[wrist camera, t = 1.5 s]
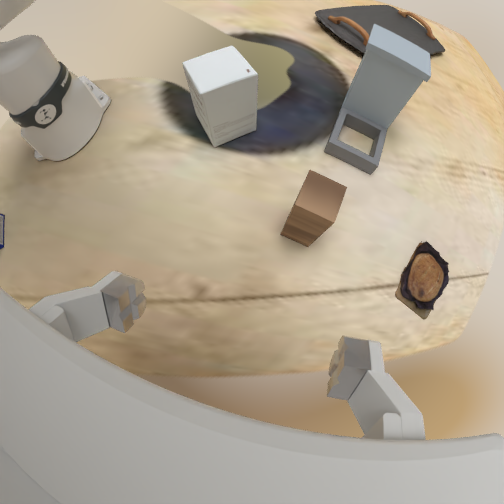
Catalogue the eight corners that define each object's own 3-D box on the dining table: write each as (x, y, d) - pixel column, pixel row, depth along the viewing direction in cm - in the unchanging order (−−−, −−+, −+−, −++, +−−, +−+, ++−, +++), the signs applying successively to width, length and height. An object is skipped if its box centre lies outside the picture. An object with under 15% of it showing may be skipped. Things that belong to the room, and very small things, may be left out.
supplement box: (237, 100, 40) (234, 43, 28) (257, 131, 39) (260, 74, 27) (195, 116, 40) (180, 61, 27) (212, 149, 39) (200, 94, 26)
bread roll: (423, 322, 35) (437, 323, 32) (388, 293, 36) (401, 292, 32) (449, 266, 37) (463, 263, 33) (417, 236, 37) (430, 230, 34)
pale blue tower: (372, 175, 38) (430, 113, 21) (321, 150, 39) (357, 72, 22) (387, 115, 40) (429, 53, 24) (344, 93, 41) (374, 23, 24)
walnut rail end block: (307, 246, 36) (334, 222, 24) (280, 234, 37) (294, 204, 25) (318, 220, 37) (347, 187, 25) (291, 208, 37) (309, 169, 25)
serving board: (391, 10, 50) (396, -3, 44) (447, 56, 47) (455, 43, 41) (302, 20, 46) (305, 1, 40) (374, 76, 43) (384, 57, 37)
